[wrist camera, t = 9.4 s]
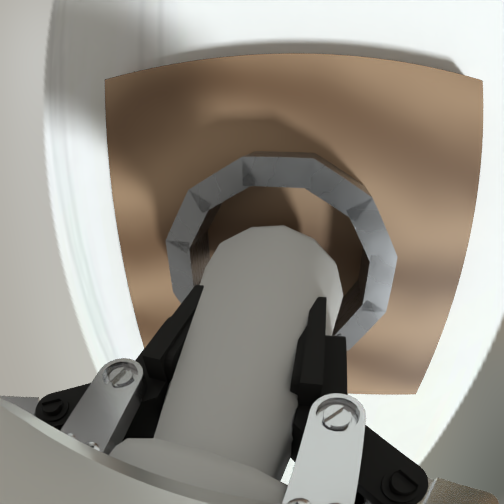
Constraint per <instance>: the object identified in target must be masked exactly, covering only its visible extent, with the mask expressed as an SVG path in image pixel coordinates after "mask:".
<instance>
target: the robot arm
mask: <svg viewBox="0 0 504 504" xmlns="http://www.w3.org/2000/svg"><path fill="white" fill-rule="evenodd" d="M203 288H204V286H203V285H195V286H194V288H193V289H192V290H191V291H190V293H189V294H188V295H187V297H186V298H185V299H184V301H183V302H182V303H181V305H180V306H179V307H178V308H177V310H176V311H175V312H174V314H173V315H172V316H171V317H169V318H168V319H167V320H166V321H165V322H164V324H163V325H162V326H161V327H160V329H159V330H158V331H157V333H156V334H155V335H154V337H153V338H152V339H151V341H150V342H149V343H148V345H147V346H146V347H145V348H144V350H143V351H142V352H141V354H140V355H139V356H138V358H137V359H136V360H132V359H126V358H121V359H115V360H113V361H110V362H108V363H107V364H105V365H104V366H103V367H102V368H101V369H100V371H99V372H98V374H97V375H96V377H95V378H94V380H93V381H92V383H89V384H85V385H82V386H78V387H74V388H70V389H67V390H63V391H59V392H55V393H51V394H49V395H46V396H45V397H43V398H42V399H41V400H40V399H39V397H38V398H37V397H14V396H0V504H499V502H498V499H497V498H496V497H495V496H494V495H493V494H491V493H489V492H486V491H482V490H479V489H475V488H471V487H468V486H464V485H460V484H457V483H454V482H451V481H448V480H445V479H442V478H439V477H438V478H436V479H435V480H434V479H431V478H428V477H427V475H426V473H425V472H424V470H423V469H422V468H421V467H420V466H418V465H417V464H416V463H414V462H413V461H412V460H410V459H409V458H408V457H406V456H405V455H404V454H402V453H401V452H400V451H398V450H397V449H396V448H394V447H393V446H392V445H391V444H389V443H388V442H387V441H385V440H384V439H383V438H381V437H380V436H379V435H378V434H376V433H375V432H374V431H373V430H371V429H370V428H369V427H368V426H366V425H365V422H366V413H365V409H364V407H363V405H362V404H361V403H360V402H359V401H358V400H357V399H355V398H353V397H351V396H349V395H347V348H346V337H344V336H330V335H325V334H326V303H327V297H318V298H317V299H316V301H315V302H314V304H313V305H312V307H311V309H310V310H309V316H308V324H307V326H306V328H305V329H304V331H303V332H302V334H301V336H300V337H299V339H298V343H297V349H296V355H295V361H294V366H293V372H292V378H291V385H290V392H292V393H294V394H296V395H298V399H297V400H298V406H297V409H296V412H295V418H294V424H293V431H292V436H293V441H292V443H291V458H292V459H293V461H294V462H295V465H294V468H293V472H292V475H291V478H290V481H289V484H288V487H287V490H286V493H285V496H284V499H283V502H282V503H274V502H267V501H261V500H255V499H249V498H244V497H238V496H234V495H229V494H224V493H220V492H216V491H211V490H207V489H204V488H200V487H196V486H192V485H189V484H185V483H182V482H179V481H175V480H172V479H169V478H166V477H163V476H160V475H157V474H154V473H152V472H149V471H146V470H143V469H141V468H138V467H136V466H133V465H130V464H128V463H126V462H123V461H121V460H118V459H116V458H114V457H111V456H109V454H110V453H111V452H112V450H113V449H114V448H115V446H117V445H118V444H120V443H121V442H123V441H124V440H126V439H127V438H154V435H155V432H156V428H157V425H158V421H159V418H160V414H161V411H162V407H163V404H164V400H165V396H166V393H167V389H168V386H169V383H170V382H171V380H172V378H173V375H174V372H175V369H176V366H177V363H178V360H179V357H180V354H181V352H182V349H183V346H184V343H185V340H186V337H187V334H188V331H189V328H190V325H191V322H192V320H193V317H194V314H195V311H196V308H197V305H198V302H199V300H200V297H201V294H202V291H203Z"/></svg>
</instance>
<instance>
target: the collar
mask: <svg viewBox="0 0 504 504" xmlns="http://www.w3.org/2000/svg"><path fill="white" fill-rule="evenodd" d="M250 186H263V187H289V188H305V189H306V190H308V191H310V192H311V193H313V194H314V195H316V196H317V197H319V198H320V199H322V200H324V201H325V202H327V203H328V204H330V205H331V206H333V207H334V208H336V209H337V210H339V211H340V212H342V213H343V214H345V215H346V216H348V217H349V218H350V220H351V222H352V224H353V226H354V228H355V230H356V232H357V235H358V237H359V239H360V241H361V243H362V245H363V248H362V256H361V263H360V270H359V277H358V280H357V281H356V282H355V283H354V285H353V286H352V287H351V288H350V289H349V291H348V292H347V293H346V294H345V295H344V297H343V298H342V302H341V305H340V309H339V312H338V316H337V319H336V322H335V325H334V329H333V333H332V336H344V337H346V348H347V351H348V350H350V349H351V348H352V347H353V346H354V345H355V344H356V343H357V342H358V341H359V340H360V339H361V338H362V337H363V336H364V335H365V334H366V333H367V332H368V331H369V330H370V329H371V328H372V326H373V325H374V324H375V323H376V322H377V321H378V320H379V319H380V318H381V317H382V316H383V315H384V314H385V313H386V310H387V306H388V301H389V297H390V292H391V288H392V283H393V278H394V273H395V268H396V262H397V254H396V252H395V249H394V247H393V244H392V242H391V239H390V237H389V234H388V232H387V229H386V227H385V225H384V222H383V220H382V218H381V215H380V213H379V211H378V208H377V206H376V204H375V202H374V200H373V197H372V196H371V194H370V193H369V191H368V190H367V188H366V187H365V186H364V185H363V184H361V183H360V182H359V181H357V180H356V179H354V178H353V177H351V176H350V175H348V174H347V173H345V172H344V171H342V170H341V169H339V168H338V167H336V166H335V165H333V164H332V163H330V162H328V161H327V160H325V159H324V158H322V157H321V156H319V155H317V154H316V153H306V152H274V151H255V152H252V153H250V154H247V155H245V156H242V157H241V158H239V159H237V160H236V161H234V162H232V163H231V164H229V165H227V166H226V167H224V168H222V169H221V170H219V171H218V172H216V173H214V174H213V175H211V176H209V177H208V178H206V179H205V180H203V181H201V182H200V183H198V184H197V185H195V186H194V187H192V188H190V189H189V190H188V192H187V194H186V196H185V198H184V200H183V202H182V205H181V207H180V209H179V211H178V213H177V216H176V218H175V220H174V222H173V225H172V227H171V229H170V232H169V234H168V236H167V239H166V247H167V255H168V262H169V269H170V276H171V283H172V289H173V293H174V294H175V296H176V297H177V299H178V300H179V301H180V303H182V302H183V301H184V299H185V298H186V297H187V295H188V294H189V293H190V291H191V290H192V289H193V288H194V286H195V285H200V283H201V279H202V276H203V273H204V270H205V267H206V266H207V264H208V262H209V261H210V251H209V238H208V229H209V228H210V226H211V224H212V222H213V220H214V218H215V216H216V214H217V212H218V210H219V208H220V207H221V205H222V203H223V201H225V200H227V199H229V198H230V197H232V196H234V195H236V194H238V193H239V192H241V191H243V190H245V189H246V188H248V187H250Z"/></svg>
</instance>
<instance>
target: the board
mask: <svg viewBox="0 0 504 504" xmlns="http://www.w3.org/2000/svg"><path fill="white" fill-rule="evenodd" d="M105 108H106V129H107V144H108V156H109V167H110V177H111V185H112V194H113V201H114V209H115V215H116V222H117V228H118V234H119V240H120V246H121V251H122V257H123V262H124V267H125V272H126V277H127V281H128V286H129V290H130V295H131V299H132V303H133V308H134V312H135V316H136V320H137V324H138V327H139V331H140V335H141V338H142V342H143V346H144V348H145V347H146V346H147V345H148V343H149V342H150V341H151V339H152V338H153V337H154V335H155V334H156V333H157V331H158V330H159V329H160V327H161V326H162V325H163V324H164V322H165V321H166V320H167V319H168V318H169V317H171V316H172V315H173V314H174V312H175V311H176V310H177V308H178V307H179V306H180V305H181V303H180V301H179V300H178V299H177V297H176V296H175V294H174V293H173V289H172V283H171V276H170V269H169V262H168V255H167V247H166V239H167V236H168V234H169V232H170V229H171V227H172V225H173V222H174V220H175V218H176V216H177V213H178V211H179V209H180V207H181V205H182V202H183V200H184V198H185V196H186V194H187V192H188V190H189V189H190V188H192V187H194V186H195V185H197V184H198V183H200V182H201V181H203V180H205V179H206V178H208V177H209V176H211V175H213V174H214V173H216V172H218V171H219V170H221V169H222V168H224V167H226V166H227V165H229V164H231V163H232V162H234V161H236V160H237V159H239V158H241V157H242V156H245V155H247V154H250V153H252V152H255V151H274V152H306V153H316V154H317V155H319V156H321V157H322V158H324V159H325V160H327V161H328V162H330V163H332V164H333V165H335V166H336V167H338V168H339V169H341V170H342V171H344V172H345V173H347V174H348V175H350V176H351V177H353V178H354V179H356V180H357V181H359V182H360V183H361V184H363V185H364V186H365V187H366V188H367V190H368V191H369V193H370V194H371V196H372V197H373V200H374V202H375V204H376V206H377V208H378V211H379V213H380V215H381V218H382V220H383V222H384V225H385V227H386V229H387V232H388V234H389V237H390V239H391V242H392V244H393V247H394V249H395V252H396V254H397V262H396V268H395V273H394V278H393V283H392V288H391V292H390V297H389V301H388V306H387V310H386V313H385V314H384V315H383V316H382V317H381V318H380V319H379V320H378V321H377V322H376V323H375V324H374V325H373V326H372V328H371V329H370V330H369V331H368V332H367V333H366V334H365V335H364V336H363V337H362V338H361V339H360V340H359V341H358V342H357V343H356V344H355V345H354V346H353V347H352V348H351V349H350V350H348V351H347V393H352V394H416V392H417V390H418V388H419V386H420V384H421V382H422V380H423V377H424V375H425V373H426V371H427V368H428V366H429V364H430V362H431V359H432V357H433V354H434V352H435V349H436V347H437V344H438V342H439V339H440V337H441V334H442V331H443V328H444V326H445V323H446V320H447V317H448V314H449V311H450V308H451V305H452V302H453V299H454V296H455V292H456V289H457V285H458V282H459V278H460V275H461V271H462V267H463V263H464V259H465V255H466V251H467V247H468V242H469V237H470V233H471V228H472V222H473V217H474V211H475V205H476V198H477V191H478V184H479V175H480V165H481V154H482V138H483V81H482V80H479V79H476V78H472V77H469V76H465V75H461V74H457V73H454V72H449V71H445V70H441V69H437V68H432V67H427V66H422V65H417V64H411V63H406V62H400V61H393V60H386V59H378V58H370V57H360V56H348V55H334V54H305V53H285V54H256V55H241V56H229V57H219V58H211V59H203V60H195V61H189V62H182V63H176V64H171V65H165V66H160V67H155V68H150V69H146V70H141V71H137V72H132V73H128V74H124V75H120V76H117V77H113V78H109V79H106V80H105ZM279 225H284V226H287V227H289V228H291V229H293V230H296V231H298V232H300V233H302V234H304V235H307V236H309V237H311V238H313V239H315V240H316V241H317V243H318V244H319V245H320V246H321V247H322V248H323V249H324V250H325V251H326V252H327V253H328V255H329V256H330V257H331V258H332V259H333V260H334V261H335V263H336V265H337V269H338V273H339V278H340V282H341V287H342V292H343V297H344V295H345V294H346V293H347V292H348V291H349V289H350V288H351V287H352V286H353V285H354V283H355V282H356V281H357V280H358V277H359V270H360V263H361V256H362V248H363V245H362V243H361V241H360V239H359V237H358V235H357V232H356V230H355V228H354V226H353V224H352V222H351V220H350V218H349V217H348V216H346V215H345V214H343V213H342V212H340V211H339V210H337V209H336V208H334V207H333V206H331V205H330V204H328V203H327V202H325V201H324V200H322V199H320V198H319V197H317V196H316V195H314V194H313V193H311V192H310V191H308V190H306V189H305V188H289V187H263V186H250V187H248V188H246V189H245V190H243V191H241V192H239V193H238V194H236V195H234V196H232V197H230V198H229V199H227V200H225V201H223V203H222V205H221V207H220V208H219V210H218V212H217V214H216V216H215V218H214V220H213V222H212V224H211V226H210V228H209V229H208V238H209V251H210V259H211V257H212V256H213V254H214V252H215V251H216V249H217V247H218V246H219V244H220V243H222V242H223V241H225V240H227V239H229V238H231V237H233V236H235V235H237V234H239V233H241V232H243V231H245V230H247V229H249V228H251V227H261V226H279Z"/></svg>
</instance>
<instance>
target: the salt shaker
mask: <svg viewBox="0 0 504 504" xmlns="http://www.w3.org/2000/svg"><path fill="white" fill-rule="evenodd" d="M200 285H203V286H204V288H203V291H202V294H201V297H200V300H199V302H198V305H197V308H196V311H195V314H194V317H193V320H192V322H191V325H190V328H189V331H188V334H187V337H186V340H185V343H184V346H183V349H182V352H181V354H180V357H179V360H178V363H177V366H176V369H175V372H174V375H173V378H172V380H171V382H170V383H169V386H168V389H167V393H166V396H165V400H164V404H163V407H162V411H161V414H160V418H159V421H158V425H157V428H156V432H155V435H154V438H127V439H126V440H124V441H123V442H121V443H120V444H118V445H117V446H115V448H114V449H113V450H112V452H111V453H110V454H109V456H111V457H114V458H116V459H118V460H121V461H123V462H126V463H128V464H130V465H133V466H136V467H138V468H141V469H143V470H146V471H149V472H152V473H154V474H157V475H160V476H163V477H166V478H169V479H172V480H175V481H179V482H182V483H185V484H189V485H192V486H196V487H200V488H204V489H207V490H211V491H216V492H220V493H224V494H229V495H234V496H238V497H244V498H249V499H255V500H261V501H267V502H274V503H282V502H283V499H284V496H285V493H286V490H287V487H288V485H286V484H284V483H282V482H280V481H281V478H282V476H283V474H284V471H285V469H286V467H287V464H288V462H289V459H290V457H291V443H292V441H293V436H292V431H293V424H294V418H295V412H296V409H297V406H298V400H297V399H298V395H296V394H294V393H292V392H290V385H291V378H292V372H293V366H294V361H295V355H296V349H297V343H298V339H299V337H300V336H301V334H302V332H303V331H304V329H305V328H306V326H307V324H308V316H309V310H310V309H311V307H312V305H313V304H314V302H315V301H316V299H317V298H318V297H327V303H326V334H325V335H330V336H332V333H333V329H334V325H335V322H336V319H337V316H338V312H339V309H340V305H341V302H342V298H343V292H342V287H341V282H340V278H339V273H338V269H337V265H336V263H335V261H334V260H333V259H332V258H331V257H330V256H329V255H328V253H327V252H326V251H325V250H324V249H323V248H322V247H321V246H320V245H319V244H318V243H317V241H316V240H315V239H313V238H311V237H309V236H307V235H304V234H302V233H300V232H298V231H296V230H293V229H291V228H289V227H287V226H284V225H279V226H261V227H251V228H249V229H247V230H245V231H243V232H241V233H239V234H237V235H235V236H233V237H231V238H229V239H227V240H225V241H223V242H222V243H220V244H219V246H218V247H217V249H216V251H215V252H214V254H213V256H212V257H211V259H210V261H209V262H208V264H207V266H206V267H205V270H204V273H203V276H202V279H201V283H200Z"/></svg>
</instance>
